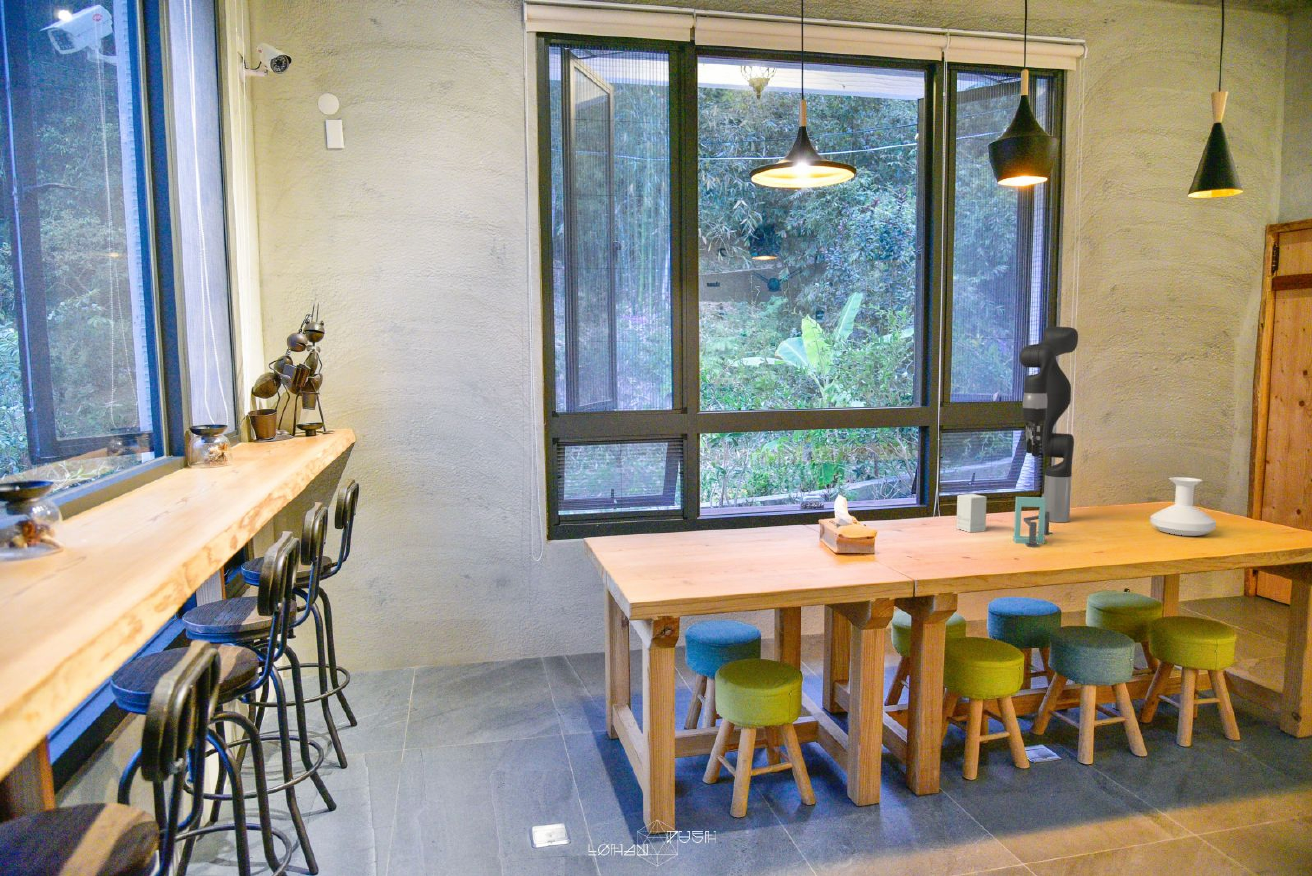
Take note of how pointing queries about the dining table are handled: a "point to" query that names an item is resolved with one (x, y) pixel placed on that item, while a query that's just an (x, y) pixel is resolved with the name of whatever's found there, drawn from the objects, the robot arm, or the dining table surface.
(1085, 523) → the dining table surface
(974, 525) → the supplement box
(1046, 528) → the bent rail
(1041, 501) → the teal frame
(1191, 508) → the candle holder
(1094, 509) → the dining table surface
